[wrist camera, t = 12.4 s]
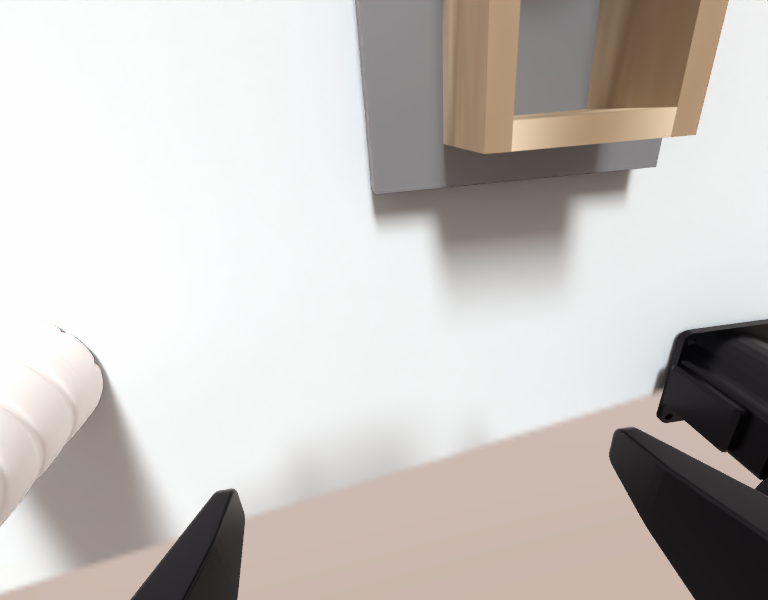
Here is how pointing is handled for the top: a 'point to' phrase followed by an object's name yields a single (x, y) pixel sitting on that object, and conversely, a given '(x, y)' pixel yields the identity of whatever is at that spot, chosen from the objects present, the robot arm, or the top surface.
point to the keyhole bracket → (607, 81)
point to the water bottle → (39, 400)
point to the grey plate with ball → (425, 97)
